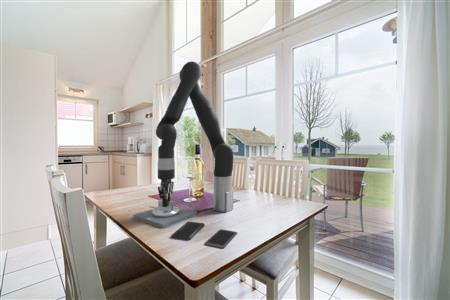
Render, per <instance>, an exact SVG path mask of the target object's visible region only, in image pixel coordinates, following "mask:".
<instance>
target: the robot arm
mask: <svg viewBox="0 0 450 300" xmlns="http://www.w3.org/2000/svg"><path fill="white" fill-rule="evenodd" d="M201 77H202V68H201V66H200V65H199V64H198V63H197V62H195V61H188V62H186V63H185V64H183V66H182V67H181V69H180V71H179V80H180V81H179V85H178V87H177V88H176V90H175V92H174V94H173V96H172V98H171V100H170V101H169V104H168V106H167V108H166V111H165V113H164V115H163V116H162V118H161V120H160V121H159V122H158V124H157V126H156V129H155V135H156V138H158V139H159V140H161V143H160V145H159V146H158V147H157V179H158V180H161V181H160V186H158V187H157V192H158V196H159V198H160V199H161V200H162V206H163V207H167V206H168V201H171V196H172V195H173V190H174V185H175V184H174V181H172V180H174V179H175V177H176V175H175V174H176V173H175V172H176V171H175V170H176V168H175V167H176V166H175V146H176V141H177V137H178V136H177V135H178V134H177V133H178V132H177V129H176V127H175V124H177V123H178V122H179V121H180V119H181V117H182V115H183V112H184V111H185V108H186V106H187V105H186V104H187V102H188V101H189V100H188V99H190V102H191V104H192V107H193V109H194V111H195V114H196V116H197V120H198V121H199V123H200V127H201V128H202V130H203V132H204V134H205V135H206V137H207V139H208V142H209V144H210V147H211V151H212V155H213V158H214V170H213V210H214V211H215V212H224V213H228V212H230V211H232V210H234V190H232V189H233V188H232V186H233V183H232V182H233V170H234V150H233V148H232V147H231V146H230V145H229V144H227V143H226V141H225V140H224V137H223V135H222V132H221V128H220V123H219V118H218V115H217V113H216V110H215V108H214V106H213V104H212V103H211V101H210V100H209V99H208V97H206V96H205V94H204V93H203V91H202V90H201V87H200V84H199V80H200V78H201Z"/></svg>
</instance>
